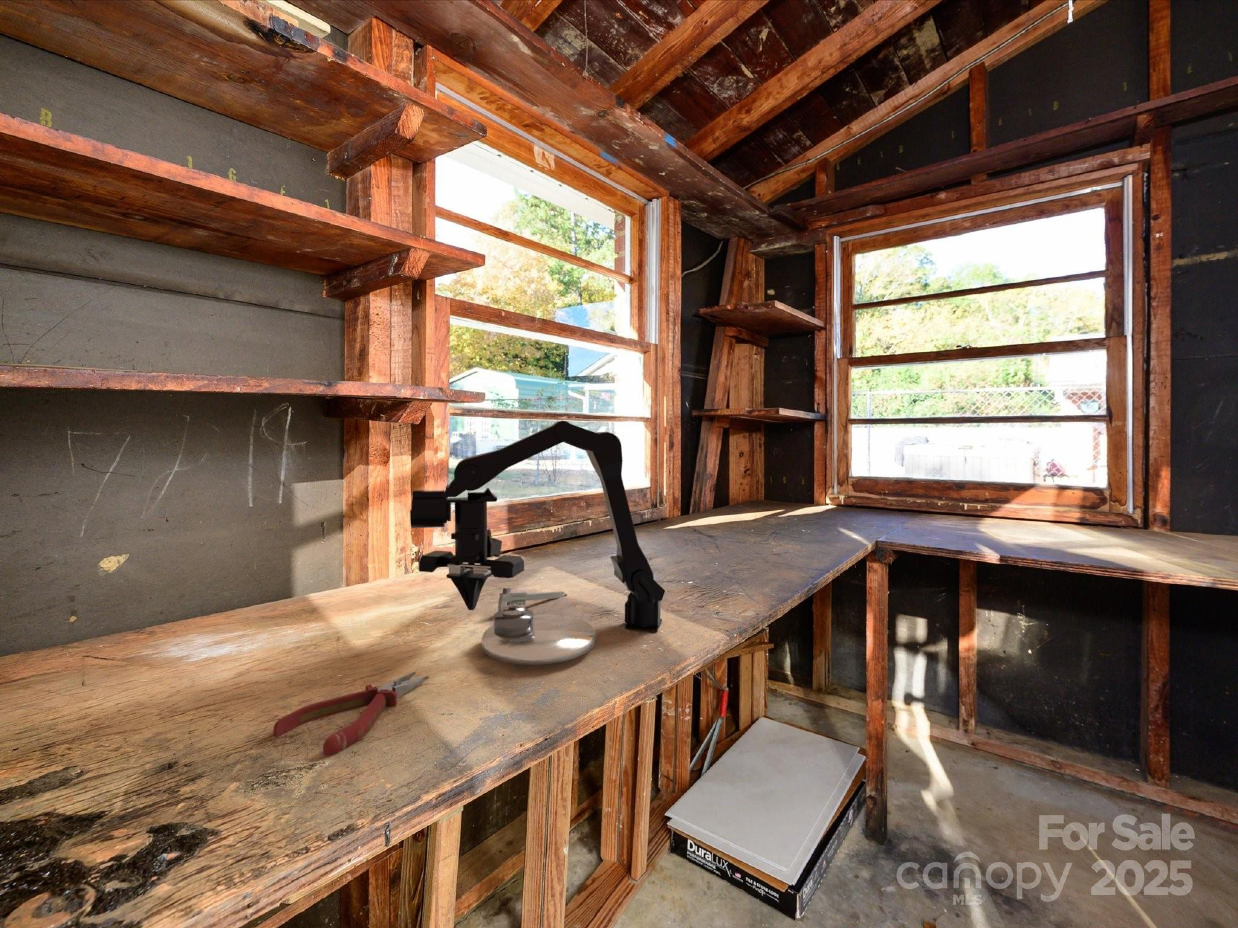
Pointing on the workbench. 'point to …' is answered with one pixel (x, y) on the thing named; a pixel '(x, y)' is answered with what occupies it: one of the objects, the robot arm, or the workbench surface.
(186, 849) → the workbench surface
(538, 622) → the turntable
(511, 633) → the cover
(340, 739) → the pliers
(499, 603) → the caliper
